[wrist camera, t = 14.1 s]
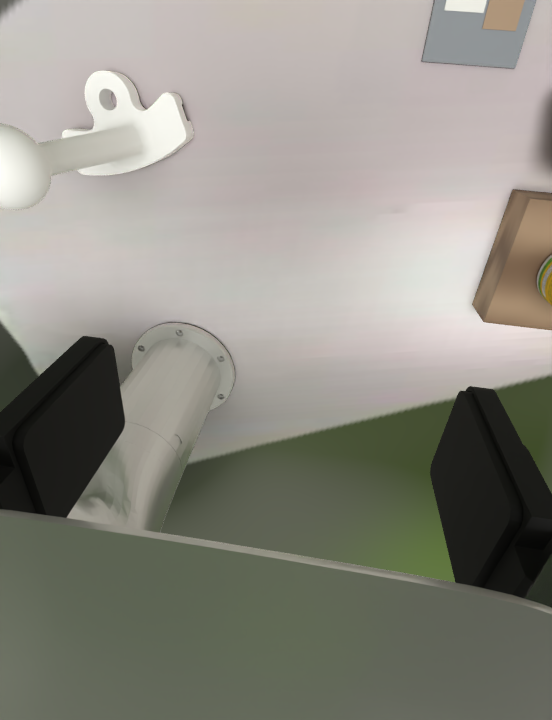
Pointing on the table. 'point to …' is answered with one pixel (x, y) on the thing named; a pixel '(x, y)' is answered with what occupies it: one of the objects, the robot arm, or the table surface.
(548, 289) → the supplement bottle
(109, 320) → the table surface
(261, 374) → the table surface
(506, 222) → the base block
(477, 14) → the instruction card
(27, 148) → the joystick
